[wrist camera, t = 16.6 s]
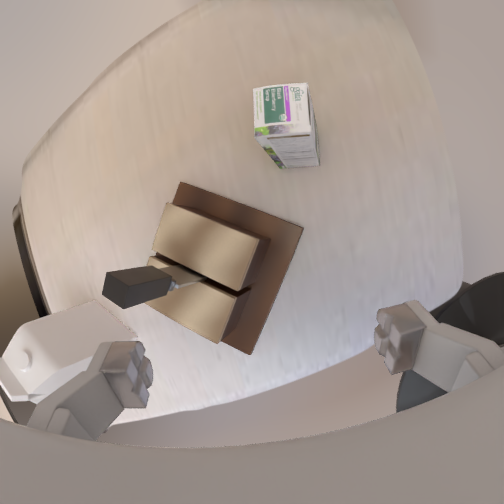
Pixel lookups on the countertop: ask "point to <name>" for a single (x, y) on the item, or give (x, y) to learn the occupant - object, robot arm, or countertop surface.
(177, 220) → the brown square slotted block
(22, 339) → the milk
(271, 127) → the syrup box
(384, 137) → the countertop surface
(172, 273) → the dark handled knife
